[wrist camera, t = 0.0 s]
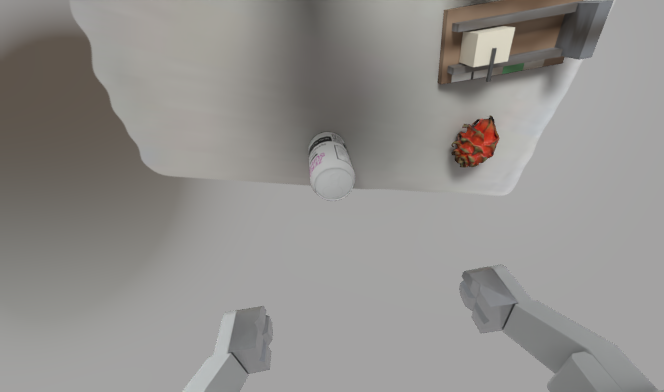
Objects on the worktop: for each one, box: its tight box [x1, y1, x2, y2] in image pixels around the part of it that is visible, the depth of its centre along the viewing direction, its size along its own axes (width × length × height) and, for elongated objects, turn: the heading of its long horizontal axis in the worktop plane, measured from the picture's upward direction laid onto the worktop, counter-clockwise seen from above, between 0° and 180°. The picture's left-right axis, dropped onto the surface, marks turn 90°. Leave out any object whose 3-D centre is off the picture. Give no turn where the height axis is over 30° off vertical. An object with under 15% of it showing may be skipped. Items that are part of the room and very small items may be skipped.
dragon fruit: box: [452, 116, 499, 167], centre depth 58 cm, size 8×8×12 cm
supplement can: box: [308, 132, 355, 201], centre depth 53 cm, size 8×8×15 cm
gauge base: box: [438, 0, 614, 84], centre depth 47 cm, size 12×24×8 cm, turn 98°
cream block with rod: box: [459, 26, 515, 82], centre depth 47 cm, size 8×6×6 cm
